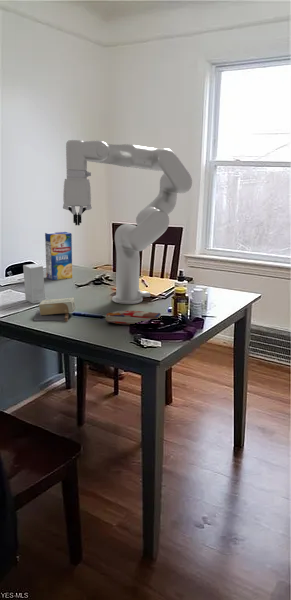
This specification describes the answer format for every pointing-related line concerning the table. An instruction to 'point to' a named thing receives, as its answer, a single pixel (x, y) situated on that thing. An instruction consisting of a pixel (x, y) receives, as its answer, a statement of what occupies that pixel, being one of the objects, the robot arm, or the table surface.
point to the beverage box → (58, 255)
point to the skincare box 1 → (34, 283)
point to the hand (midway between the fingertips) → (77, 224)
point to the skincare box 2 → (57, 306)
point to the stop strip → (66, 317)
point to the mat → (49, 317)
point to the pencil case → (130, 317)
